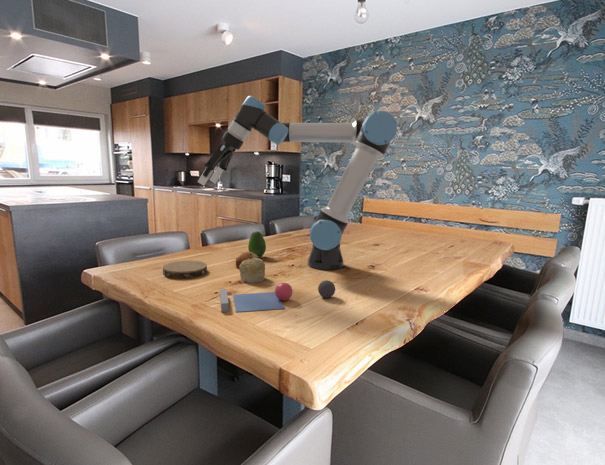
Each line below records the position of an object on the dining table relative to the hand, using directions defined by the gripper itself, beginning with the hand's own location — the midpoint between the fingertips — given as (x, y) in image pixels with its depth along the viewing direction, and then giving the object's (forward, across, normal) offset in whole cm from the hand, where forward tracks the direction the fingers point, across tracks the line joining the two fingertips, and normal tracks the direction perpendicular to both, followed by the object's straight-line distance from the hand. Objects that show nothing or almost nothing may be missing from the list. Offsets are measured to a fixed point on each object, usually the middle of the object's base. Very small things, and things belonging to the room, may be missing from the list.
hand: (206, 182), depth 137 cm
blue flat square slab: (+14, +35, +40) cm, 55 cm away
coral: (+18, +13, +36) cm, 42 cm away
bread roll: (+21, -3, +31) cm, 38 cm away
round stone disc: (+32, +9, +13) cm, 36 cm away
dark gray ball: (0, +28, +57) cm, 63 cm away
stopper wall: (+18, +38, +32) cm, 53 cm away
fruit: (+20, -19, +32) cm, 43 cm away
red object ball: (+7, +32, +45) cm, 56 cm away
